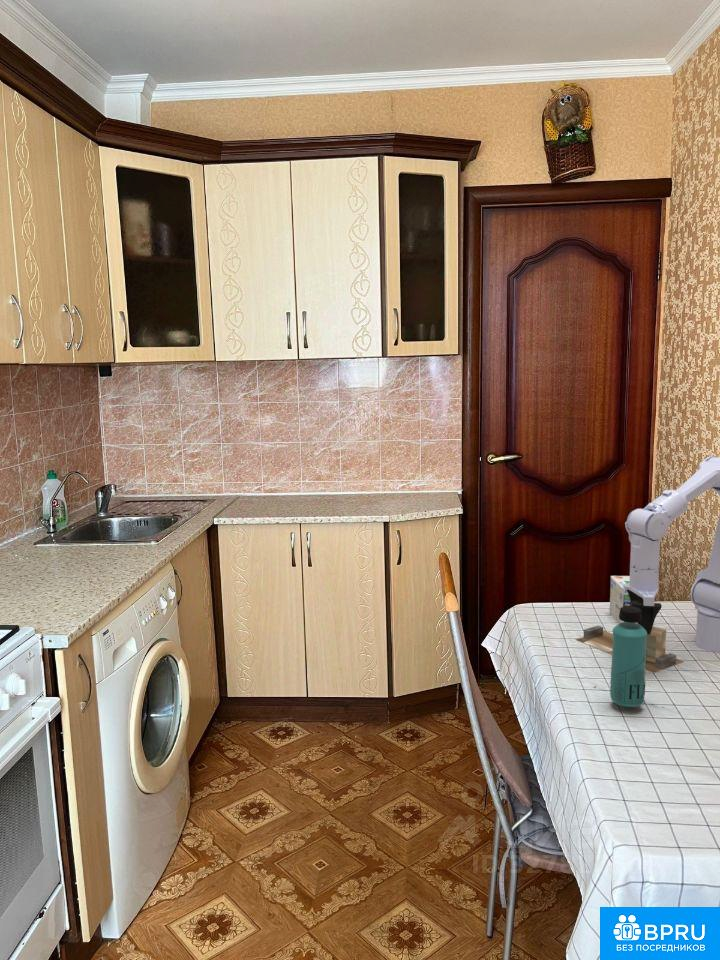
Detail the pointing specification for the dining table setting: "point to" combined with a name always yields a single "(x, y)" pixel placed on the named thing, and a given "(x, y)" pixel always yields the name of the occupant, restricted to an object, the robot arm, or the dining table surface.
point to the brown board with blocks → (605, 642)
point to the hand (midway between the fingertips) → (641, 626)
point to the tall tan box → (655, 643)
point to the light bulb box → (618, 596)
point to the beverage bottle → (628, 659)
